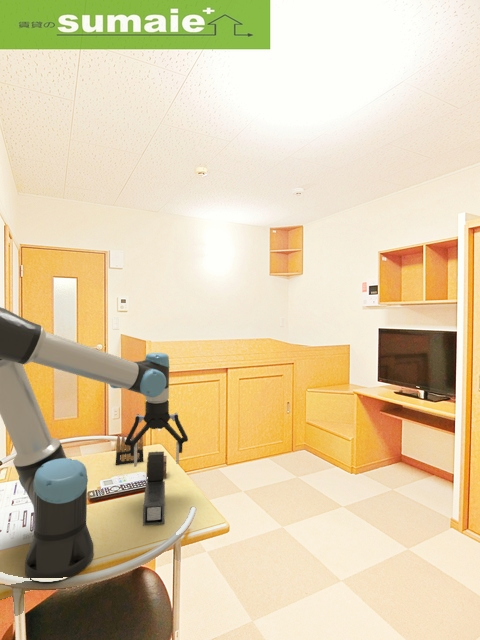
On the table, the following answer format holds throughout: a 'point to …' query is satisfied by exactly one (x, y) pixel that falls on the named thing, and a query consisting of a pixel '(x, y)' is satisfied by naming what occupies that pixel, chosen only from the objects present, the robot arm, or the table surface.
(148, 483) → the sleeve
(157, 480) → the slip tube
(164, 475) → the brown block
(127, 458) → the ammunition clip
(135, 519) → the table surface
